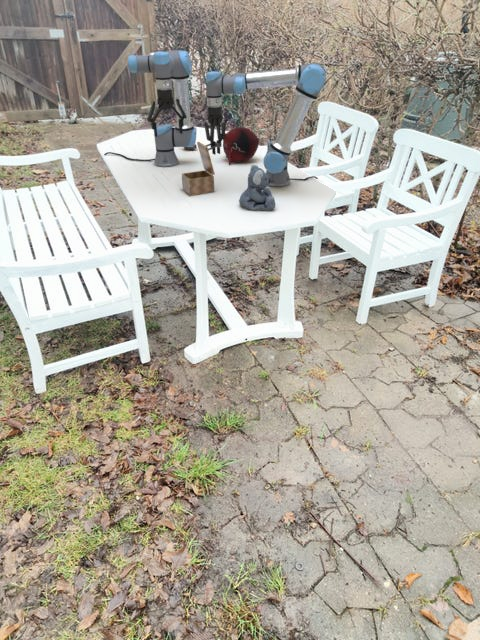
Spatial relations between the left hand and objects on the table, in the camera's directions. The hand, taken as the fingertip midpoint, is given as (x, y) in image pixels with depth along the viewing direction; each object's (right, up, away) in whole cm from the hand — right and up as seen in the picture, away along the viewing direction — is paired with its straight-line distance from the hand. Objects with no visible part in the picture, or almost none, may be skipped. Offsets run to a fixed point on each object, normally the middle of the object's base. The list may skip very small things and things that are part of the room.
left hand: (168, 134), depth 232 cm
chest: (+14, -24, +18) cm, 33 cm away
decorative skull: (+37, +11, +69) cm, 79 cm away
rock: (0, +27, +92) cm, 96 cm away
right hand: (+24, -6, +11) cm, 27 cm away
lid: (+18, -9, +10) cm, 22 cm away
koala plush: (+45, -37, -2) cm, 59 cm away
